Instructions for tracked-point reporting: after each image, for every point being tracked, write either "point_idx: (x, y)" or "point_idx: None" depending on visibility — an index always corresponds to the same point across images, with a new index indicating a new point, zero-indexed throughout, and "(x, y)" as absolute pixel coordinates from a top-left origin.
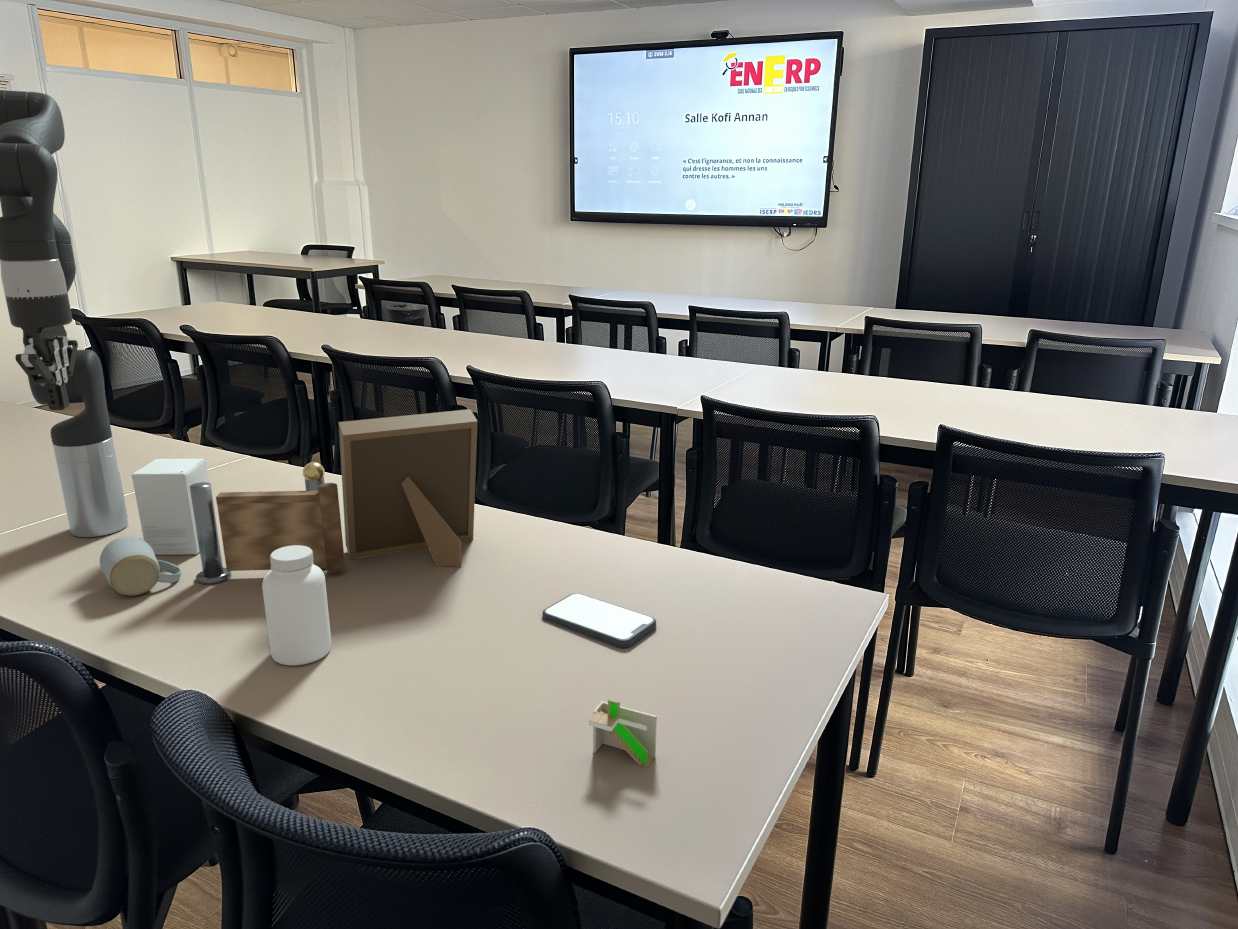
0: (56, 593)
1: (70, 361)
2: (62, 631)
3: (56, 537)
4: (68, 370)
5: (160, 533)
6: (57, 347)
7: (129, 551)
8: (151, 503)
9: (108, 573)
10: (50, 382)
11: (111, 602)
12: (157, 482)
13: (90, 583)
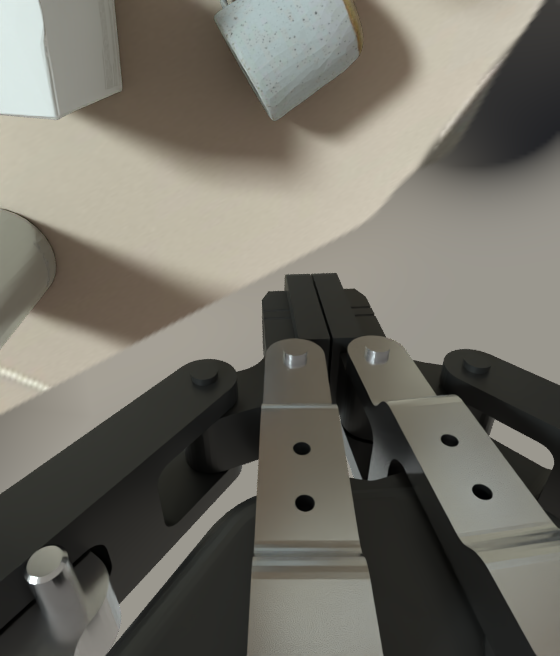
0: (296, 189)
1: (165, 439)
2: (447, 102)
3: (61, 309)
4: (231, 389)
5: (105, 44)
6: (532, 571)
7: (329, 16)
8: (84, 57)
9: (351, 62)
10: (495, 358)
11: None
12: (54, 23)
13: (258, 147)
